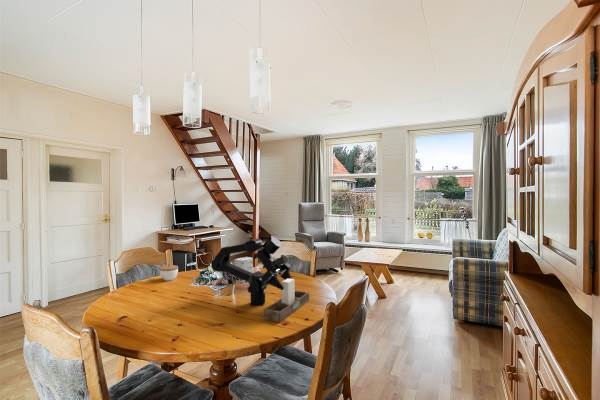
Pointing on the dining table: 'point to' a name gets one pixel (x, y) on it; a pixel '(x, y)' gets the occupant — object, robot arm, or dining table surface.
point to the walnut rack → (285, 307)
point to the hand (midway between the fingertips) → (287, 286)
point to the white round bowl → (169, 272)
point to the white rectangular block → (288, 291)
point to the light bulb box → (245, 263)
